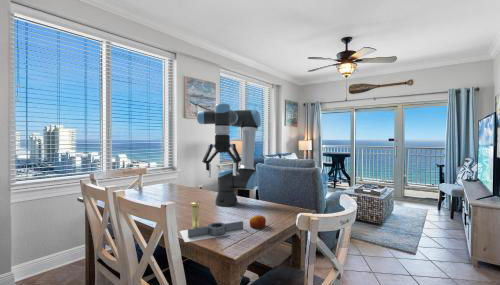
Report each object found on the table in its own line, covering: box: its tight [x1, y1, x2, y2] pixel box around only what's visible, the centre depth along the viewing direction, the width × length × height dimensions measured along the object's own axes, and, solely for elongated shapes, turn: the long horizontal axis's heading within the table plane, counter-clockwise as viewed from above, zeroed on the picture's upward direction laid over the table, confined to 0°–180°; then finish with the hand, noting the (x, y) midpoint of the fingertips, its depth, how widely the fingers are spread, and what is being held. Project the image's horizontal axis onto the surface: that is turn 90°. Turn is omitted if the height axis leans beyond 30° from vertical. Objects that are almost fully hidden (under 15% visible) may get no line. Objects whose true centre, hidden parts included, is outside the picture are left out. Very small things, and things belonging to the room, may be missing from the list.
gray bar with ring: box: [187, 221, 244, 238], centre depth 116 cm, size 8×26×4 cm, turn 115°
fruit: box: [249, 214, 267, 230], centre depth 125 cm, size 8×8×8 cm
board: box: [179, 229, 247, 243], centre depth 118 cm, size 14×28×1 cm, turn 115°
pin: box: [190, 201, 201, 229], centre depth 120 cm, size 4×4×13 cm
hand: (222, 176), depth 130 cm, fingers open, 13 cm apart
